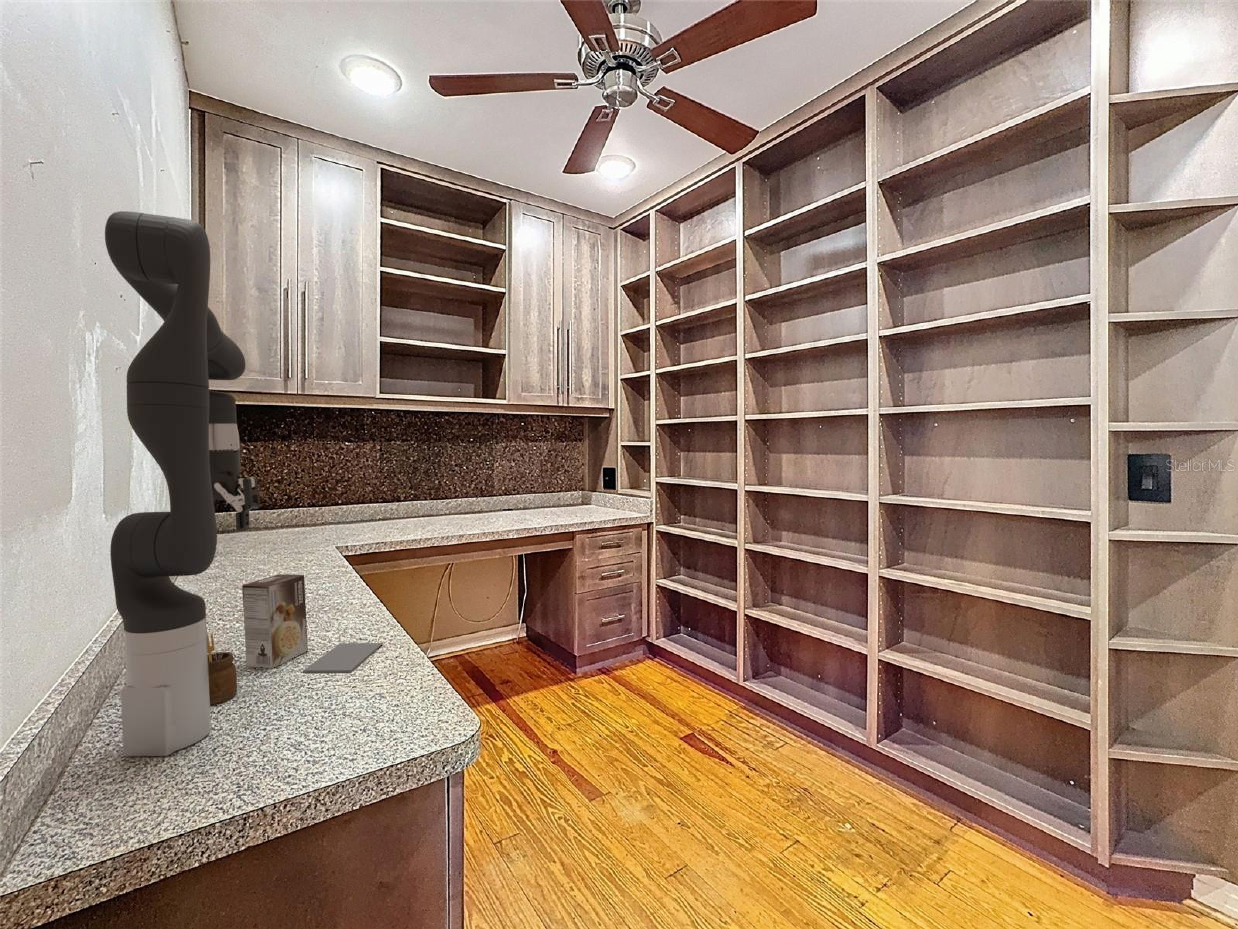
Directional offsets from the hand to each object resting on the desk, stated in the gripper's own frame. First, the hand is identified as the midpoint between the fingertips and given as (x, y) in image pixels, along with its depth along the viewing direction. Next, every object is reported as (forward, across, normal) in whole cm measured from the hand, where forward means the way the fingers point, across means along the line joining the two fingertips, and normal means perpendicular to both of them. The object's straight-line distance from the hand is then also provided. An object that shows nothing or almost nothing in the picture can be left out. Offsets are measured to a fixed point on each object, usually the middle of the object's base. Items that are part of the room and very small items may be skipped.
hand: (220, 530), depth 109 cm
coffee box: (+26, +9, +1) cm, 28 cm away
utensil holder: (+26, +10, -16) cm, 32 cm away
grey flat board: (+26, +23, +1) cm, 35 cm away
